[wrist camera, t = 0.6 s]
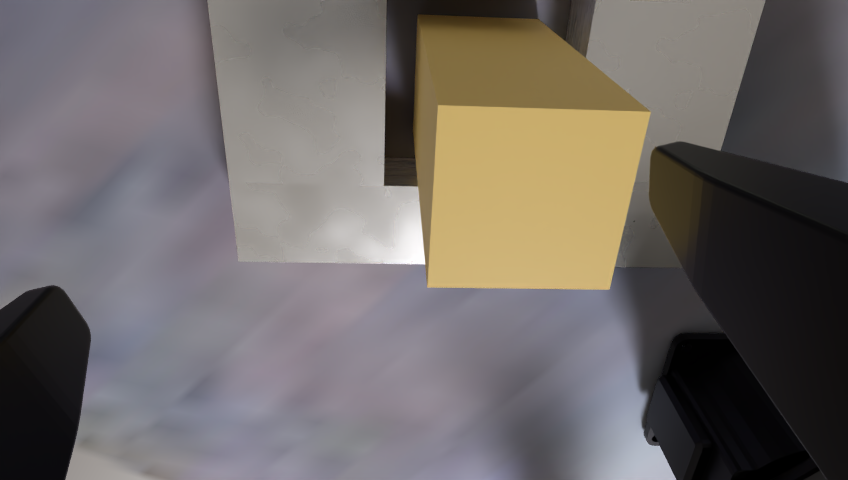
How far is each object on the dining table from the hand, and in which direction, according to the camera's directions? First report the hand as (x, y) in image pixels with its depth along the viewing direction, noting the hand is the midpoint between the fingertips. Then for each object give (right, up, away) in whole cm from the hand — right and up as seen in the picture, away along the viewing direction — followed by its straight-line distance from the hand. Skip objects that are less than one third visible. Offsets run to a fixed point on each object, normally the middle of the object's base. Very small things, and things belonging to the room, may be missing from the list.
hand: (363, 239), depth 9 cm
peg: (+3, +6, +12) cm, 13 cm away
